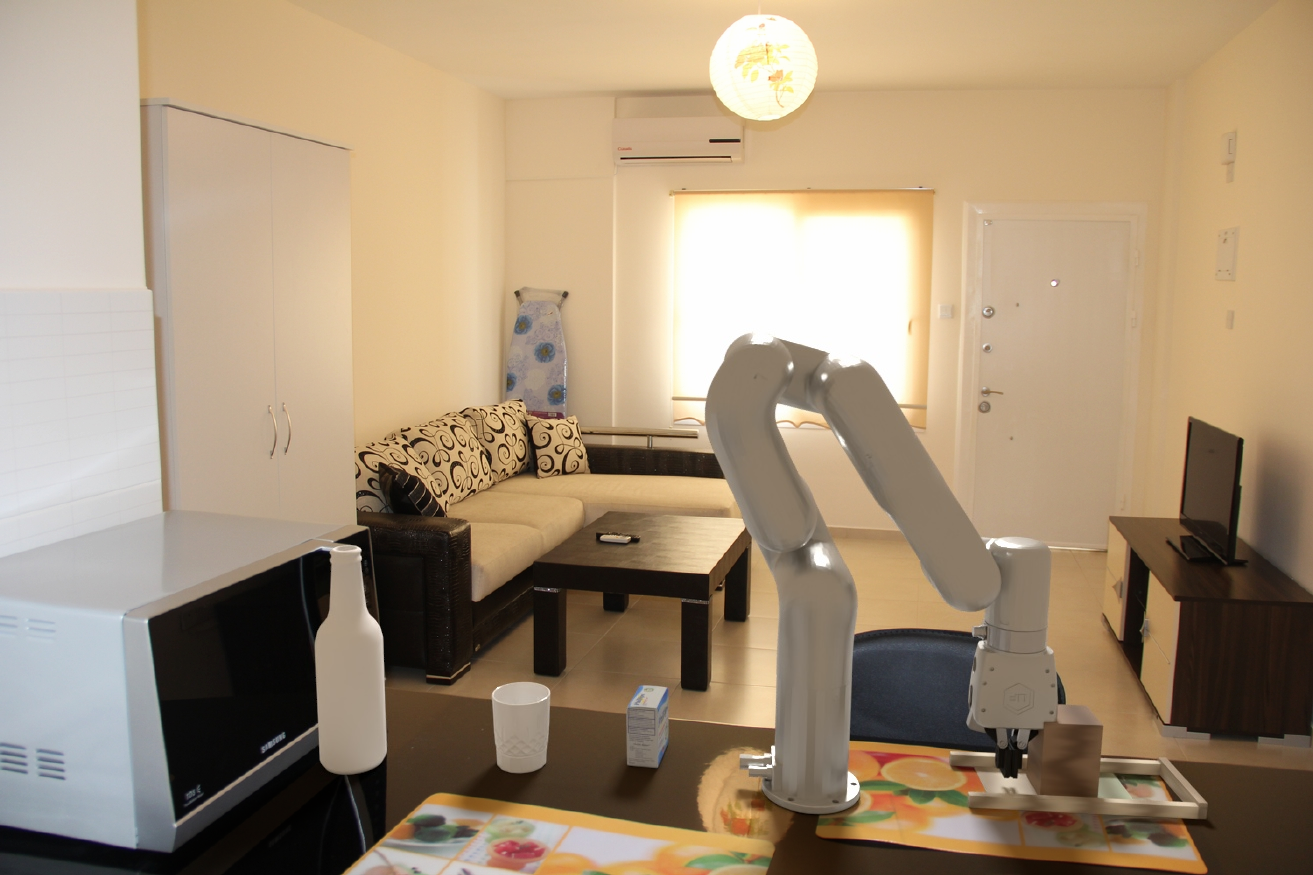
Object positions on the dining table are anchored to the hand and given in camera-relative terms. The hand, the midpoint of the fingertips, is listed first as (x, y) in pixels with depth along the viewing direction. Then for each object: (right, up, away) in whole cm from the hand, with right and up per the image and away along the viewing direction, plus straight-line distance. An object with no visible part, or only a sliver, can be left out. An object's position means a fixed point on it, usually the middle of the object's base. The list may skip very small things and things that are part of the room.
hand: (1007, 773), depth 127 cm
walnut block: (+7, -2, 0) cm, 7 cm away
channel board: (+8, -3, 0) cm, 9 cm away
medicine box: (-46, -2, +11) cm, 48 cm away
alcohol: (-87, -2, +9) cm, 87 cm away
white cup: (-64, -2, +9) cm, 64 cm away
